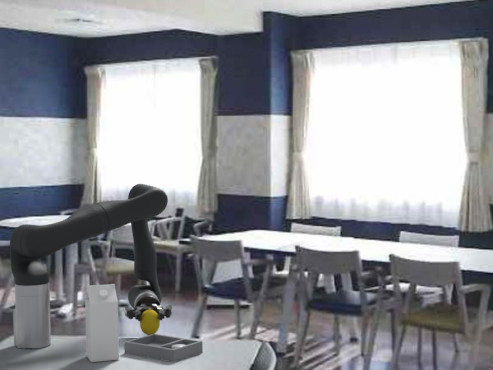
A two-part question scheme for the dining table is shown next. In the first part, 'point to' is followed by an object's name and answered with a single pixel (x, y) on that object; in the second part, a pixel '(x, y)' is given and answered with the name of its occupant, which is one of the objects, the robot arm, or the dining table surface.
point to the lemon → (149, 322)
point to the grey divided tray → (163, 347)
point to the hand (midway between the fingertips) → (150, 317)
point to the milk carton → (102, 323)
